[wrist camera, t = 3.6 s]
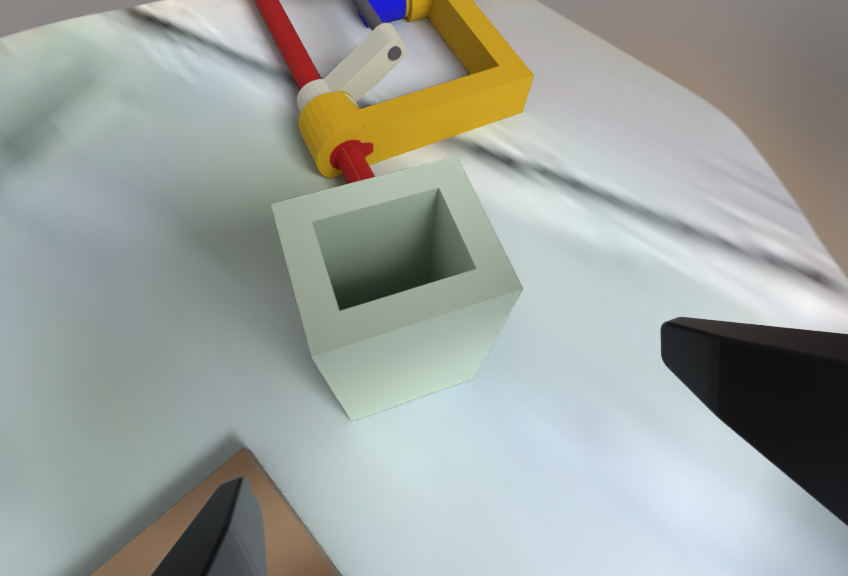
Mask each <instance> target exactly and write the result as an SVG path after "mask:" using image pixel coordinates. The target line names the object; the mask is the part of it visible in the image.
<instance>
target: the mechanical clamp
mask: <svg viewBox="0 0 848 576" xmlns="http://www.w3.org/2000/svg"><path fill="white" fill-rule="evenodd" d="M254 1H255V3H256V5H257V7H258V9H259V11H260V13H261V15H262V17H263V18H264V20H265V22H266V24H267V26H268V28H269V30H270V32H271V34H272V36H273V38H274V40H275V42H276V44H277V46H278V48H279V50H280V52H281V54H282V56H283V58H284V60H285V62H286V63H287V65H288V67H289V69H290V71H291V73H292V75H293V77H294V79H295V81H296V83H297V85H298V87H299V89H300V92H299V94H298V96H297V107H298V109H299V111H300V115H299V120H298V127H299V131H300V133H301V135H302V137H303V139H304V141H305V143H306V145H307V147H308V149H309V151H310V153H311V155H312V157H313V160H314V162H315V164H316V166H317V168H318V170H319V172H320V173H321V174H322V175H324V176H326V177H328V178H333V177H336V176H339V175H342V174H343V175H344V177H345V179H346V181H347V183H348V184H350V183H354V182H358V181H362V180H365V179H369V178H373V177H375V176H374V174H373V172H372V170H371V168H370V166H369V165H371V164H374V163H377V162H380V161H383V160H385V159H388V158H391V157H394V156H397V155H400V154H403V153H406V152H409V151H412V150H414V149H417V148H420V147H423V146H426V145H429V144H432V143H435V142H438V141H441V140H444V139H446V138H449V137H452V136H455V135H458V134H461V133H464V132H467V131H470V130H473V129H475V128H478V127H481V126H484V125H487V124H490V123H493V122H496V121H499V120H502V119H504V118H507V117H510V116H513V115H516V114H519V113H522V112H523V109H524V106H525V103H526V99H527V96H528V93H529V90H530V86H531V83H532V80H533V77H534V75H533V73H532V72H531V71H530V70H529V69H528V67H527V66H526V65H525V64H524V62H523V61H522V60H521V59H520V58H519V56H518V55H517V54H516V53H515V51H514V50H513V49H512V48H511V47H510V45H509V44H508V43H507V42H506V41H505V39H504V38H503V37H502V36H501V34H500V33H499V32H498V31H497V30H496V28H495V27H494V26H493V25H492V23H491V22H490V21H489V20H488V19H487V17H486V16H485V15H484V14H483V12H482V11H481V10H480V9H479V8H478V6H477V5H476V4H475V3H474V1H473V0H352V1H353V2H354V4H355V5H356V7H357V9H358V12H359V15H360V17H361V19H362V20H363V22H364V23H365V25H366V26H367V27H370V28H371V30H372V32H371V33H370V34H369V35H368V36H367V37H366V38H365V39H364V40H363V41H362V42H361V43H360V44H359V45H358V46H357V47H356V48H355V49H354V50H353V51H352V52H351V53H350V54H349V55H348V56H347V57H346V58H345V59H344V60H342V61H341V62H340V63H339V64H338V65H337V66H336V67H335V68H334V69H333V70H332V71H331V72H330V73H329V74H328V75H327V76H326V77H325V78H324V79H321V77H320V75H319V73H318V71H317V69H316V68H315V66H314V64H313V62H312V60H311V58H310V57H309V55H308V53H307V51H306V49H305V47H304V46H303V44H302V42H301V40H300V38H299V36H298V35H297V33H296V31H295V29H294V27H293V25H292V24H291V22H290V20H289V18H288V16H287V14H286V13H285V11H284V9H283V7H282V5H281V3H280V2H279V0H254ZM427 17H428V19H429V20H430V21H431V23H432V24H433V25H434V27H435V28H436V30H437V31H438V32H439V34H440V35H441V36H442V38H443V39H444V40H445V42H446V43H447V44H448V46H449V47H450V48H451V50H452V51H453V53H454V54H455V55H456V57H457V58H458V59H459V61H460V62H461V63H462V65H463V66H464V67H465V69H466V70H467V72H468V73H469V74H470V75H469V76H465V77H462V78H459V79H456V80H452V81H449V82H446V83H443V84H440V85H436V86H433V87H430V88H427V89H423V90H420V91H417V92H414V93H411V94H407V95H404V96H401V97H398V98H394V99H391V100H388V101H385V102H382V103H378V104H375V105H372V106H369V107H365V108H362V109H360V108H359V106H358V104H357V103H356V102H357V101H358V100H359V99H360V98H362V97H363V96H364V95H365V94H366V93H367V92H368V91H369V90H370V89H371V88H372V87H373V86H374V85H375V84H377V83H378V82H379V81H380V80H381V79H382V78H383V77H384V76H385V75H386V74H387V73H388V72H389V71H390V70H392V69H393V68H394V67H395V66H396V65H397V64H398V63H399V62H400V61H401V60H402V59H403V58H404V56H405V54H406V51H407V47H406V44H405V43H404V41H403V40H402V38H401V37H400V35H399V34H398V32H397V31H396V29H395V28H394V26H393V25H391V24H390V23H386V22H390V21H394V20H397V19H401V18H406V19H407V20H408V22H412V21H416V20H419V19H423V18H427Z"/></svg>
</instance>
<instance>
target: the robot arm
mask: <svg viewBox="0 0 848 576" xmlns="http://www.w3.org/2000/svg"><path fill="white" fill-rule="evenodd" d="M661 357H662V360H663V362H664V364H665V365H666V366H667V367H668V368H669V369H670V370H671V371H672V372H673V373H674V374H675V375H676V376H677V377H678V378H679V379H680V380H681V381H682V382H683V383H684V384H685V385H686V386H687V387H688V388H689V389H690V390H691V391H692V392H693V393H694V394H695V395H696V396H697V397H698V398H699V399H700V400H701V401H702V402H703V403H704V404H705V405H706V406H707V407H708V408H709V409H710V410H711V411H712V412H713V413H714V414H715V415H716V416H717V417H718V418H719V419H720V420H721V421H723V422H724V423H725V424H726V425H727V426H728V427H730V428H731V429H732V430H733V431H734V432H735V433H737V434H738V435H739V436H740V437H741V438H743V439H744V440H745V441H746V442H747V443H749V444H750V445H751V446H752V447H753V448H755V449H756V450H757V451H758V452H759V453H761V454H762V455H763V456H764V457H765V458H767V459H768V460H769V461H770V462H771V463H773V464H774V465H775V466H776V467H777V468H779V469H780V470H781V471H782V472H783V473H784V474H786V475H787V476H788V477H789V478H790V479H792V480H793V481H794V482H795V483H796V484H798V485H799V486H800V487H801V488H802V489H804V490H805V491H806V492H807V493H808V494H810V495H811V496H812V497H813V498H814V499H816V500H817V501H818V502H819V503H820V504H822V505H823V506H824V507H825V508H826V509H828V510H829V511H830V512H831V513H832V514H834V515H835V516H836V517H837V518H838V519H839V520H841V521H842V522H843V523H844V524H845V525H847V526H848V334H841V333H831V332H821V331H812V330H802V329H793V328H783V327H774V326H764V325H755V324H745V323H736V322H726V321H717V320H707V319H697V318H688V317H677V318H675V319H672V320H669V321H666V322H664V323H663V324H662V326H661ZM150 576H267V562H266V547H265V533H264V520H263V514H262V511H261V508H260V505H259V503H258V501H257V499H256V497H255V495H254V493H253V491H252V488H251V486H250V484H249V482H248V480H247V479H246V478H245V477H243V476H240V477H237V478H234V479H232V480H229V481H226V482H224V483H222V484H220V485H219V486H218V488H217V489H216V490H215V491H214V493H213V494H212V495H211V497H210V498H209V499H208V501H207V502H206V503H205V505H204V506H203V507H202V509H201V510H200V511H199V512H198V514H197V515H196V516H195V518H194V519H193V520H192V522H191V523H190V524H189V526H188V527H187V528H186V530H185V531H184V532H183V533H182V535H181V536H180V537H179V539H178V540H177V541H176V543H175V544H174V545H173V547H172V548H171V549H170V551H169V552H168V553H167V554H166V556H165V557H164V558H163V560H162V561H161V562H160V564H159V565H158V566H157V568H156V569H155V570H154V572H153V573H152V574H151V575H150Z"/></svg>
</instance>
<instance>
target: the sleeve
mask: <svg viewBox="0 0 848 576" xmlns="http://www.w3.org/2000/svg"><path fill="white" fill-rule="evenodd" d="M271 207H272V211H273V215H274V219H275V222H276V226H277V230H278V234H279V237H280V241H281V245H282V249H283V253H284V256H285V260H286V264H287V268H288V271H289V275H290V279H291V283H292V286H293V290H294V294H295V298H296V301H297V305H298V309H299V313H300V317H301V320H302V324H303V328H304V332H305V335H306V339H307V343H308V347H309V350H310V354H311V358H312V359H313V361H314V362H315V364H316V366H317V367H318V369H319V370H320V372H321V374H322V375H323V377H324V378H325V380H326V382H327V383H328V385H329V386H330V388H331V390H332V391H333V393H334V394H335V396H336V397H337V399H338V401H339V402H340V404H341V405H342V407H343V409H344V410H345V412H346V413H347V415H348V417H349V418H350V420H351V421H352V422H353V421H356V420H358V419H361V418H364V417H367V416H370V415H373V414H375V413H378V412H381V411H384V410H387V409H389V408H392V407H395V406H398V405H401V404H403V403H406V402H409V401H412V400H415V399H417V398H420V397H423V396H426V395H429V394H431V393H434V392H437V391H440V390H443V389H446V388H448V387H451V386H454V385H457V384H460V383H462V382H465V381H468V380H471V379H473V378H474V376H475V375H476V373H477V371H478V369H479V368H480V366H481V364H482V362H483V360H484V359H485V357H486V355H487V353H488V351H489V350H490V348H491V346H492V344H493V342H494V341H495V339H496V337H497V335H498V333H499V332H500V330H501V328H502V326H503V324H504V323H505V321H506V319H507V317H508V315H509V314H510V312H511V310H512V308H513V306H514V305H515V303H516V301H517V299H518V297H519V296H520V294H521V292H522V290H523V287H522V285H521V283H520V281H519V279H518V277H517V275H516V273H515V271H514V269H513V267H512V265H511V263H510V261H509V259H508V257H507V255H506V253H505V251H504V249H503V247H502V245H501V243H500V241H499V239H498V237H497V235H496V233H495V231H494V229H493V227H492V225H491V223H490V221H489V219H488V217H487V215H486V213H485V211H484V209H483V207H482V205H481V203H480V201H479V199H478V197H477V195H476V193H475V191H474V189H473V187H472V185H471V183H470V181H469V179H468V177H467V175H466V173H465V171H464V169H463V167H462V165H461V163H460V161H459V159H458V157H457V156H455V157H451V158H447V159H443V160H439V161H435V162H432V163H428V164H424V165H420V166H416V167H412V168H408V169H404V170H400V171H397V172H393V173H389V174H385V175H381V176H377V177H373V178H369V179H365V180H362V181H358V182H354V183H350V184H346V185H342V186H338V187H334V188H330V189H327V190H323V191H319V192H315V193H311V194H307V195H303V196H299V197H295V198H291V199H288V200H284V201H280V202H276V203H272V204H271Z"/></svg>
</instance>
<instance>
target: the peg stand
mask: <svg viewBox="0 0 848 576" xmlns="http://www.w3.org/2000/svg"><path fill="white" fill-rule="evenodd" d="M240 476H243V477H245V478H246V479H247V480H248V482H249V484H250V486H251V488H252V491H253V493H254V495H255V497H256V499H257V501H258V503H259V505H260V508H261V511H262V514H263V520H264V533H265V547H266V562H267V576H342V575H341V574H340V572H339V571H338V570H337V568H336V567H335V565H334V564H333V563H332V561H331V560H330V559H329V557H328V556H327V555H326V553H325V552H324V550H323V549H322V548H321V546H320V545H319V544H318V542H317V541H316V540H315V538H314V537H313V535H312V534H311V533H310V531H309V530H308V529H307V527H306V526H305V525H304V523H303V522H302V520H301V519H300V518H299V516H298V515H297V514H296V512H295V511H294V509H293V508H292V507H291V505H290V504H289V503H288V501H287V500H286V499H285V497H284V496H283V494H282V493H281V492H280V490H279V489H278V488H277V486H276V485H275V484H274V482H273V481H272V479H271V478H270V477H269V475H268V474H267V473H266V471H265V470H264V469H263V467H262V466H261V464H260V463H259V462H258V460H257V459H256V458H255V456H254V455H253V454H252V452H251V451H250V450H247V449H244V448H242V449H241V450H240V451H239V452H238V453H236V454H235V455H234V456H233V457H232V458H230V459H229V460H228V461H227V462H226V463H224V464H223V465H222V466H221V467H220V468H218V469H217V470H216V471H215V472H214V473H212V474H211V475H210V476H209V477H208V478H206V479H205V480H204V481H203V482H202V483H200V484H199V485H198V486H197V487H196V488H194V489H193V490H192V491H191V492H190V493H188V494H187V495H186V496H185V497H184V498H182V499H181V500H180V501H179V502H178V503H176V504H175V505H174V506H173V507H172V508H170V509H169V510H168V511H167V512H166V513H164V514H163V515H162V516H161V517H159V518H158V519H157V520H156V521H155V522H153V523H152V524H151V525H150V526H149V527H147V528H146V529H145V530H144V531H143V532H141V533H140V534H139V535H138V536H137V537H135V538H134V539H133V540H132V541H131V542H129V543H128V544H127V545H126V546H125V547H123V548H122V549H121V550H120V551H119V552H117V553H116V554H115V555H114V556H113V557H111V558H110V559H109V560H108V561H107V562H105V563H104V564H103V565H102V566H101V567H99V568H98V569H97V570H96V571H95V572H93V573H92V574H91V575H90V576H150V575H151V574H152V573H153V572H154V570H155V569H156V568H157V566H158V565H159V564H160V562H161V561H162V560H163V558H164V557H165V556H166V554H167V553H168V552H169V551H170V549H171V548H172V547H173V545H174V544H175V543H176V541H177V540H178V539H179V537H180V536H181V535H182V533H183V532H184V531H185V530H186V528H187V527H188V526H189V524H190V523H191V522H192V520H193V519H194V518H195V516H196V515H197V514H198V512H199V511H200V510H201V509H202V507H203V506H204V505H205V503H206V502H207V501H208V499H209V498H210V497H211V495H212V494H213V493H214V491H215V490H216V489H217V488H218V486H219V485H220V484H222V483H224V482H226V481H229V480H232V479H234V478H237V477H240Z"/></svg>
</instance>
